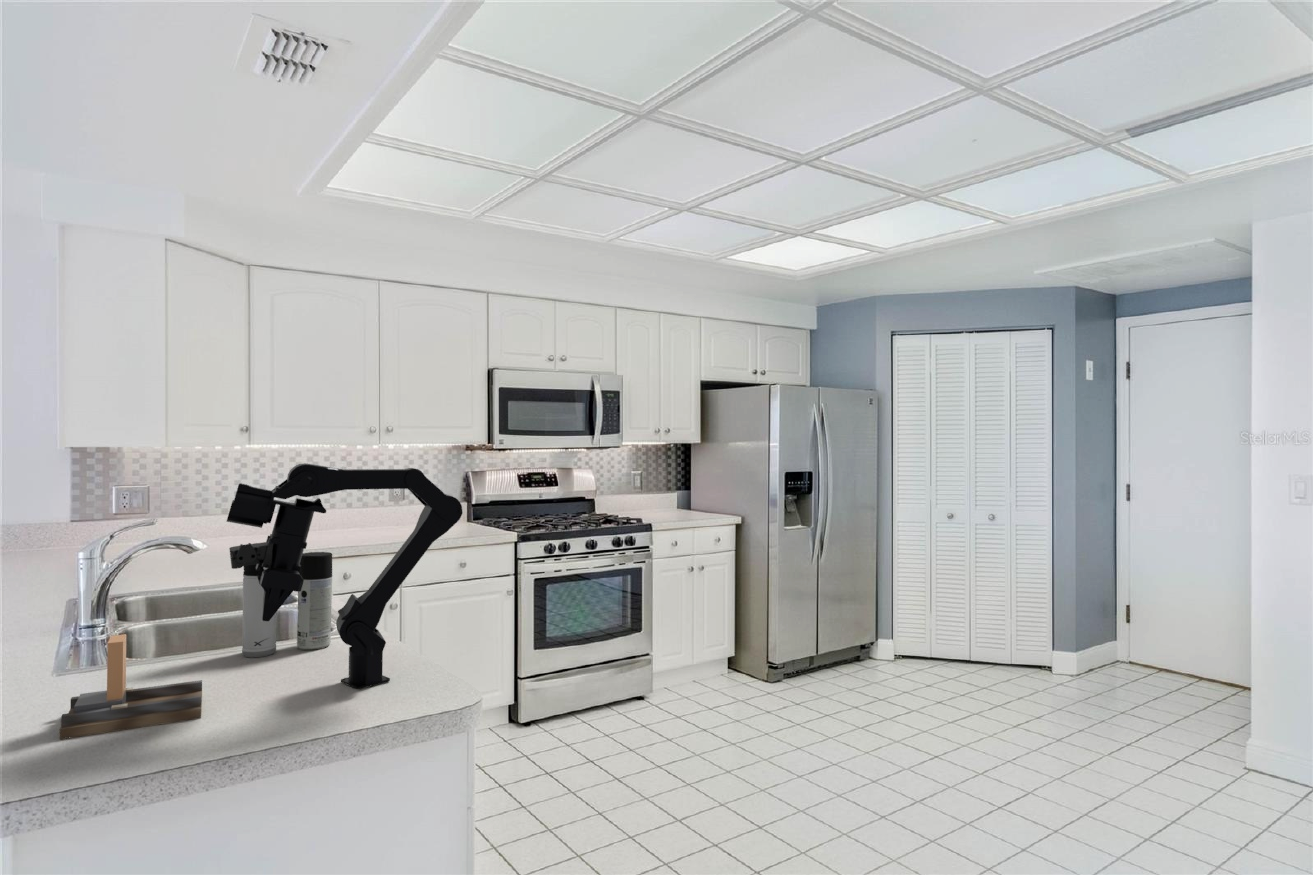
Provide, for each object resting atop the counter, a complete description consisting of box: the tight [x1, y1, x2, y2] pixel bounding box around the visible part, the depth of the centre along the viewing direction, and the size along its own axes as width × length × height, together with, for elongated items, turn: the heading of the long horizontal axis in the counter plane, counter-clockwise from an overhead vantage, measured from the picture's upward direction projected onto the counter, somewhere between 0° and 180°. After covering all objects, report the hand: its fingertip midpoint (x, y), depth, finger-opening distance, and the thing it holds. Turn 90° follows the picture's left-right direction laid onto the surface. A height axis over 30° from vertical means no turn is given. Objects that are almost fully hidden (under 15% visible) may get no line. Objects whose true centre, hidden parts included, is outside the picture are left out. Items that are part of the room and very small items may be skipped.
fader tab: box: [74, 633, 127, 712], centre depth 119 cm, size 6×6×11 cm
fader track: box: [59, 679, 203, 740], centre depth 122 cm, size 18×12×3 cm, turn 120°
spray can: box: [296, 551, 333, 651], centre depth 162 cm, size 7×7×20 cm
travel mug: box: [241, 564, 278, 659], centre depth 157 cm, size 6×7×20 cm
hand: (265, 620), depth 132 cm, fingers closed
